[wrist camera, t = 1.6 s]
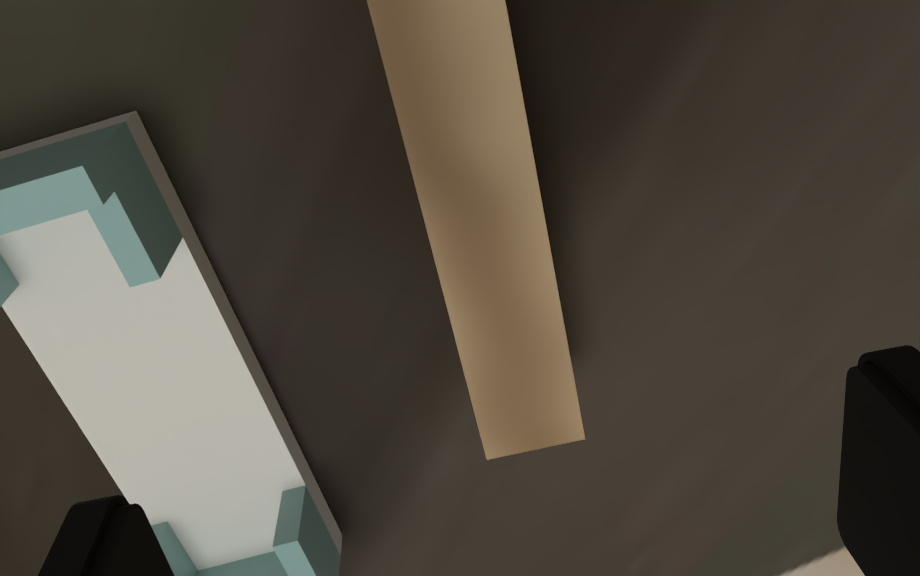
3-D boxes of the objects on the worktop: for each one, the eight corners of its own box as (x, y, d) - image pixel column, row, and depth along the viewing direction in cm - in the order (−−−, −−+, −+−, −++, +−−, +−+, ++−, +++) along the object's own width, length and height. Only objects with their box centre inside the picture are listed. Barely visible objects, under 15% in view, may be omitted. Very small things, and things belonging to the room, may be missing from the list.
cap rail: (136, 110, 27) (82, 166, 22) (342, 535, 36) (334, 634, 32) (-60, 169, 27) (-152, 235, 23) (193, 573, 37) (165, 676, 32)
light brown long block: (480, -62, 25) (497, -41, 21) (560, 359, 33) (585, 438, 29) (370, -35, 25) (364, -9, 21) (475, 377, 33) (486, 459, 29)
